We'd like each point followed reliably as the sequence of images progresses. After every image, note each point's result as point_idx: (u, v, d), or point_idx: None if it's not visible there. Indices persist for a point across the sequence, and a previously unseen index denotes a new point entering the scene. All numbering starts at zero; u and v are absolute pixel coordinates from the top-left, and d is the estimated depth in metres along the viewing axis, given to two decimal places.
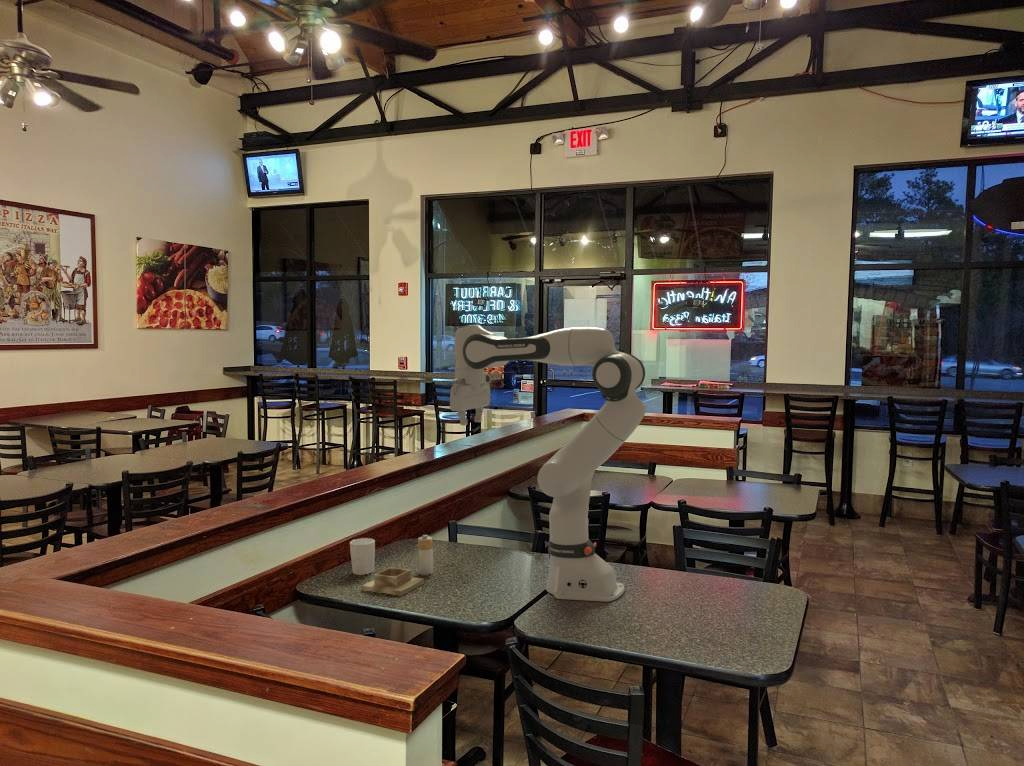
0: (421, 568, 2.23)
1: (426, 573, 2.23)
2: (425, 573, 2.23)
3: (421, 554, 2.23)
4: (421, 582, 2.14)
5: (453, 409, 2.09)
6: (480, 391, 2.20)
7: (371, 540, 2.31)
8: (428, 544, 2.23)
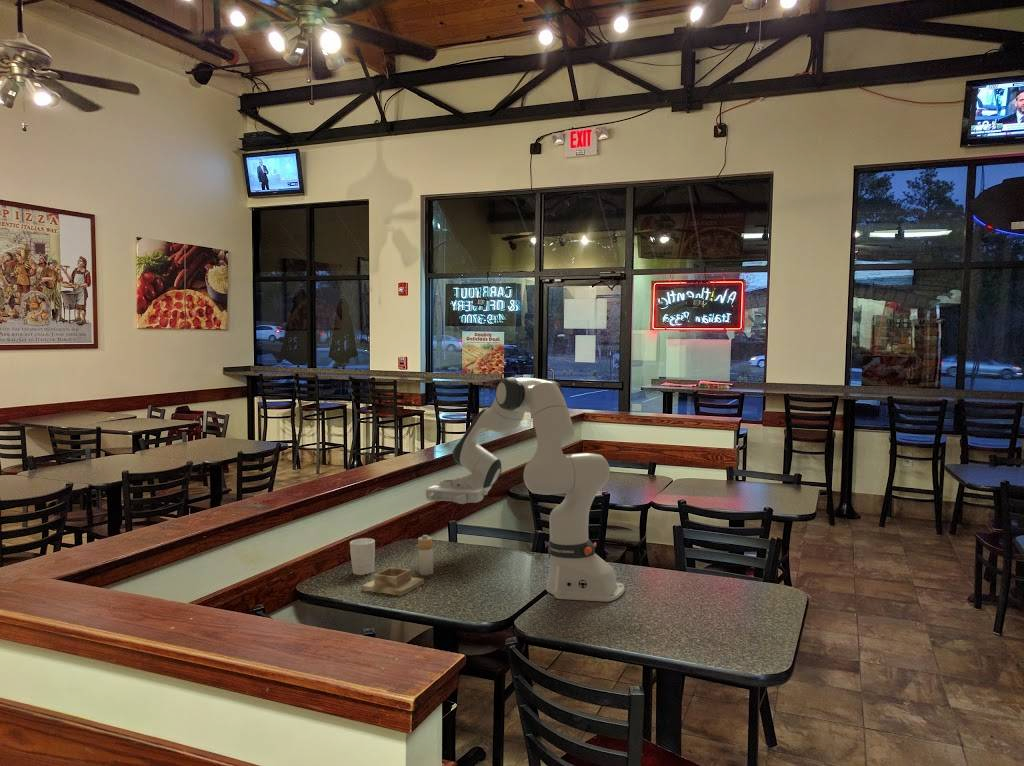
0: (421, 568, 2.23)
1: (426, 573, 2.23)
2: (425, 573, 2.23)
3: (421, 554, 2.23)
4: (421, 582, 2.14)
5: (476, 495, 2.35)
6: None
7: (371, 540, 2.31)
8: (428, 544, 2.23)
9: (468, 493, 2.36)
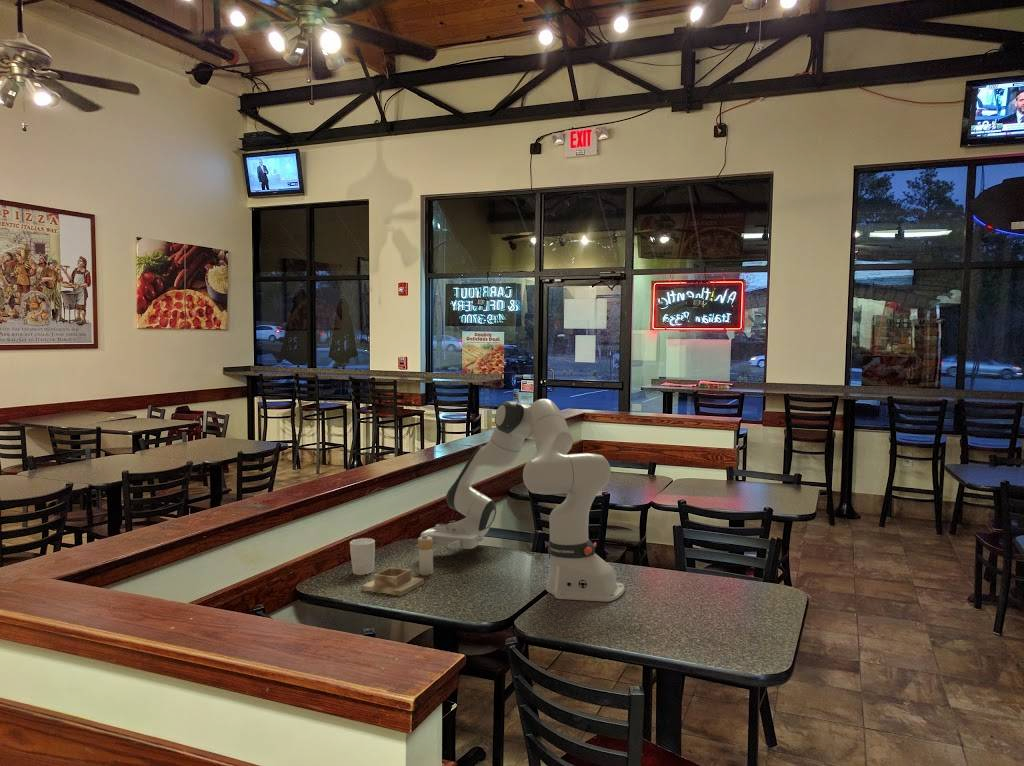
0: (421, 568, 2.23)
1: (426, 573, 2.23)
2: (425, 573, 2.23)
3: (421, 554, 2.23)
4: (421, 582, 2.14)
5: (471, 542, 2.32)
6: None
7: (371, 540, 2.31)
8: (428, 544, 2.23)
9: (463, 539, 2.33)
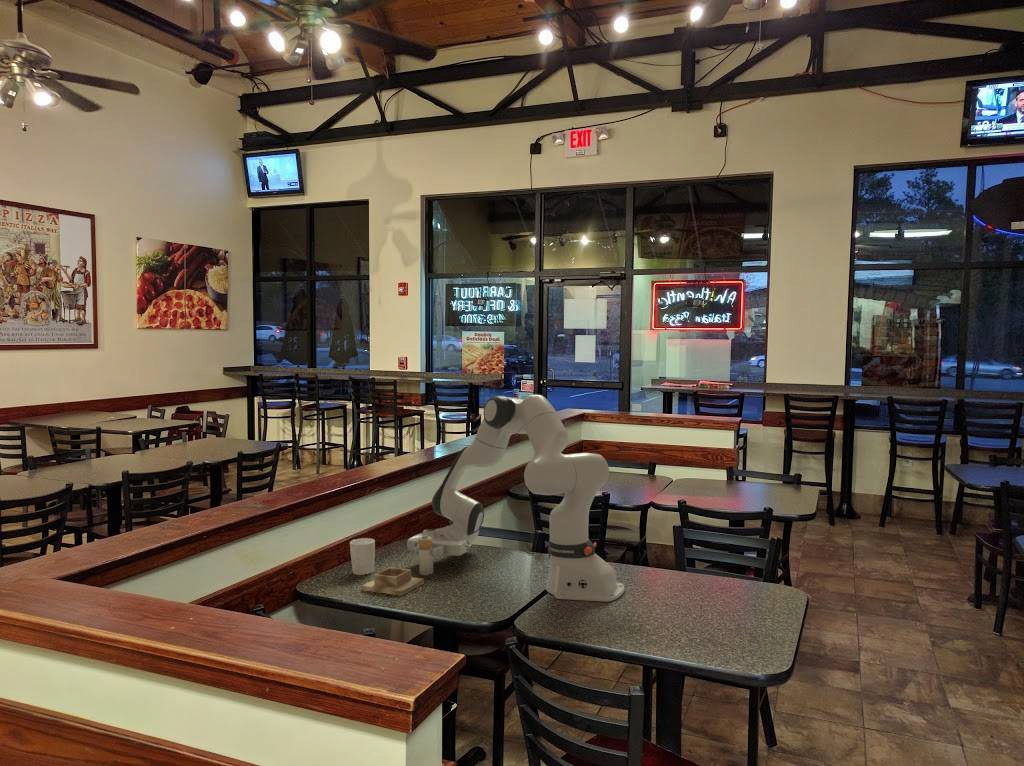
0: (421, 568, 2.23)
1: (426, 573, 2.23)
2: (425, 573, 2.23)
3: (421, 554, 2.23)
4: (421, 582, 2.14)
5: (459, 548, 2.24)
6: None
7: (371, 540, 2.31)
8: (428, 544, 2.23)
9: (450, 546, 2.25)
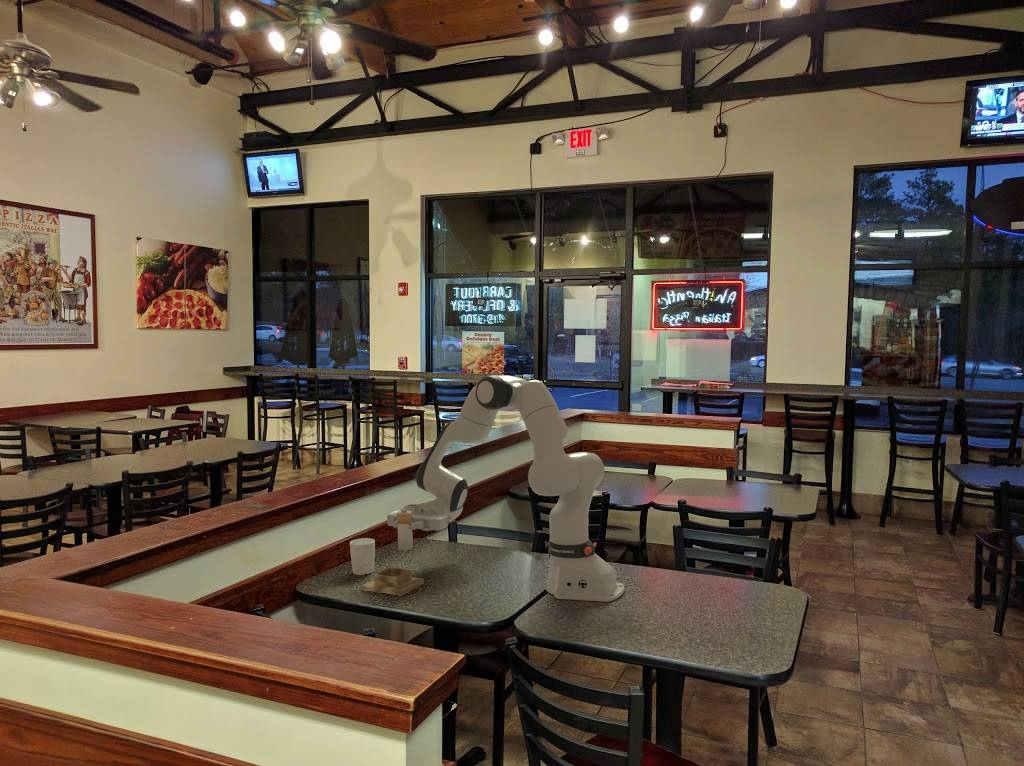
0: (400, 543, 2.16)
1: (405, 548, 2.16)
2: (404, 548, 2.16)
3: (399, 528, 2.16)
4: (421, 582, 2.14)
5: (439, 523, 2.17)
6: None
7: (371, 540, 2.31)
8: (407, 518, 2.16)
9: (430, 520, 2.18)
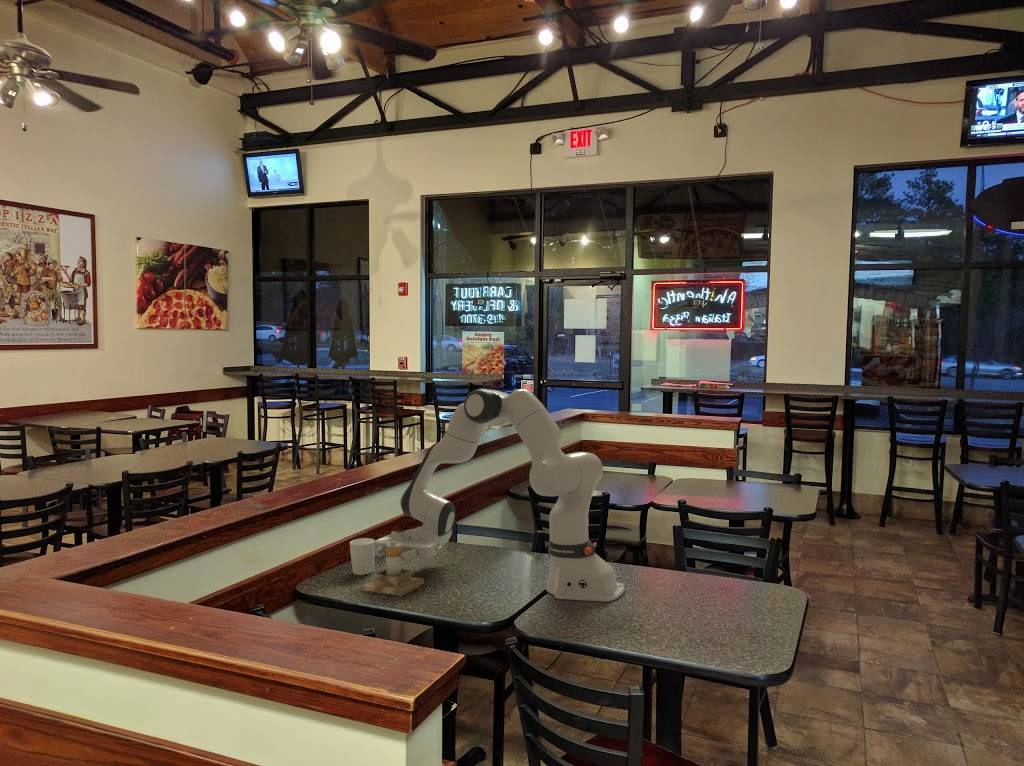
0: None
1: None
2: None
3: (388, 561, 2.10)
4: (421, 582, 2.14)
5: (427, 551, 2.11)
6: None
7: (371, 540, 2.31)
8: (396, 551, 2.10)
9: (418, 548, 2.12)
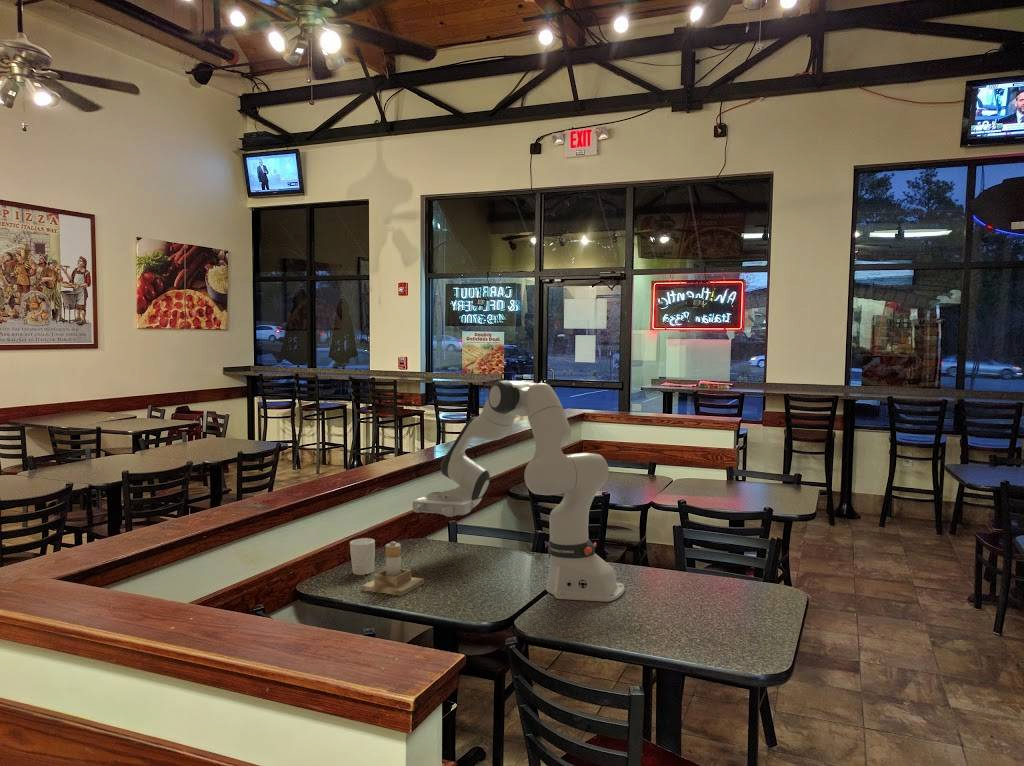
0: None
1: None
2: None
3: (388, 561, 2.10)
4: (421, 582, 2.14)
5: (463, 507, 2.30)
6: None
7: (371, 540, 2.31)
8: (395, 551, 2.10)
9: (455, 505, 2.31)
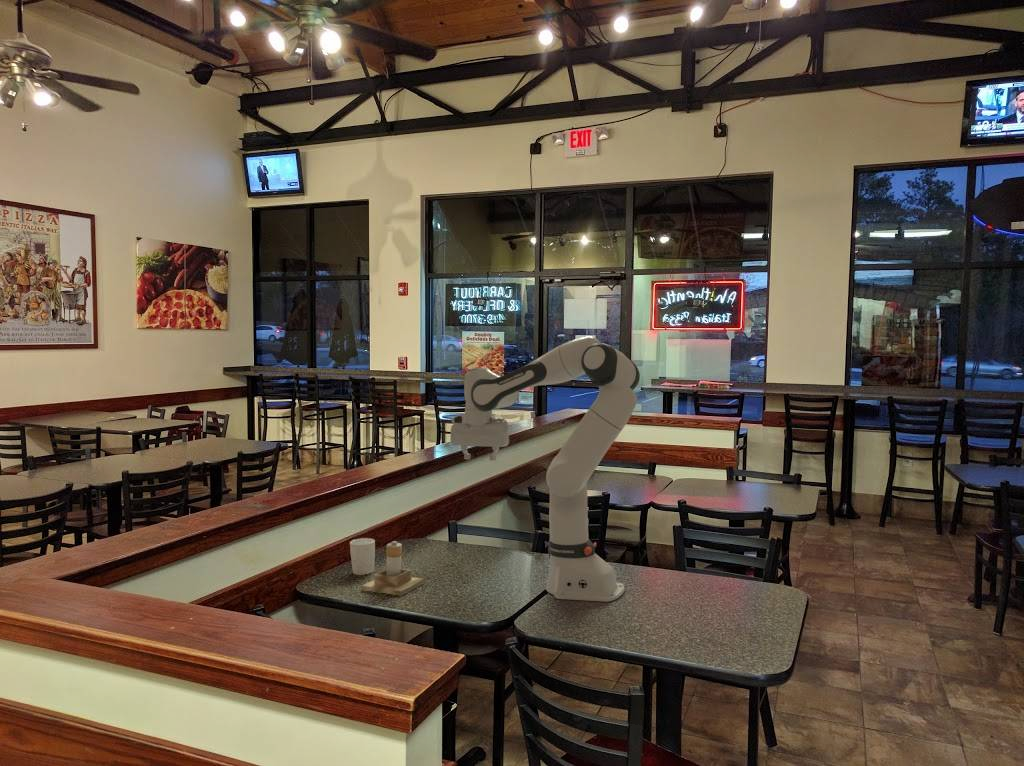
0: None
1: None
2: None
3: (388, 561, 2.10)
4: (421, 582, 2.14)
5: (505, 445, 2.27)
6: None
7: (371, 540, 2.31)
8: (396, 551, 2.10)
9: (497, 446, 2.28)
